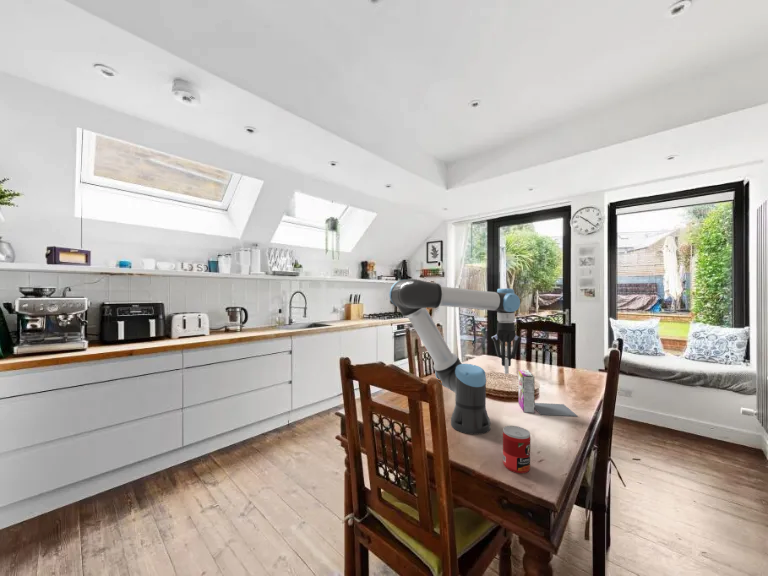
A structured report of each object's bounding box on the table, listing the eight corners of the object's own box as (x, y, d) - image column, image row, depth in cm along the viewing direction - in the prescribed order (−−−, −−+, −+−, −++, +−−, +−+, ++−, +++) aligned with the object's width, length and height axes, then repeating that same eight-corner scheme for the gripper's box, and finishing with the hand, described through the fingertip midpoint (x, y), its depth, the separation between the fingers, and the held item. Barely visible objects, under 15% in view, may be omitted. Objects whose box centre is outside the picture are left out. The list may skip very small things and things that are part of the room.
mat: (540, 414, 140) (540, 413, 140) (530, 403, 154) (530, 402, 154) (577, 416, 138) (577, 415, 138) (563, 405, 152) (563, 404, 152)
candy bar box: (517, 403, 153) (517, 369, 153) (528, 404, 152) (529, 369, 152) (522, 412, 142) (523, 375, 142) (535, 413, 141) (535, 376, 141)
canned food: (521, 477, 93) (521, 439, 93) (497, 464, 100) (497, 429, 100) (535, 468, 98) (535, 432, 98) (511, 457, 104) (511, 423, 104)
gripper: (493, 322, 146) (493, 374, 146) (523, 322, 144) (523, 375, 144) (489, 320, 153) (490, 370, 153) (518, 321, 151) (518, 371, 151)
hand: (506, 372), depth 148 cm, fingers closed
